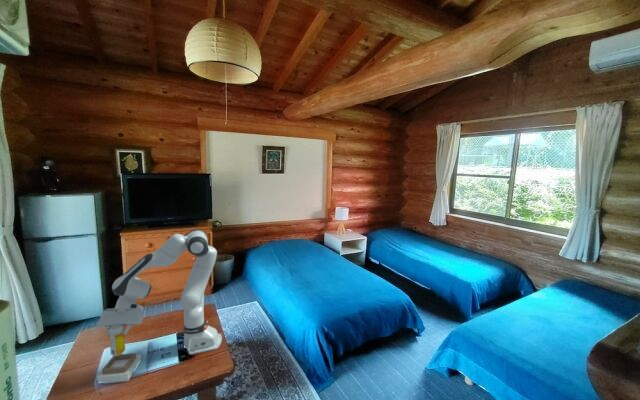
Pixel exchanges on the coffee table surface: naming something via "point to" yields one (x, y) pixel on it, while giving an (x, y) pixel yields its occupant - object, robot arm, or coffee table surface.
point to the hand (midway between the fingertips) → (116, 335)
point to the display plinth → (119, 368)
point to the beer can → (117, 340)
